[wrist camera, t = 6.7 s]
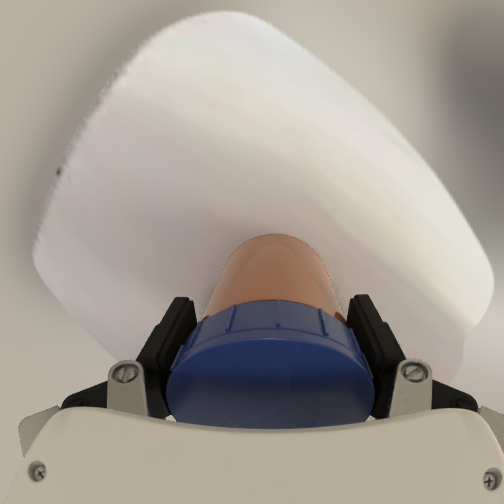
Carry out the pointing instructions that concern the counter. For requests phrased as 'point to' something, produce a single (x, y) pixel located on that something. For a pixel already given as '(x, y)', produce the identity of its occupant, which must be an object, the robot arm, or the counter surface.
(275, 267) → the jar
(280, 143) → the counter surface
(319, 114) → the counter surface
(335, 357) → the lid
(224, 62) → the counter surface
